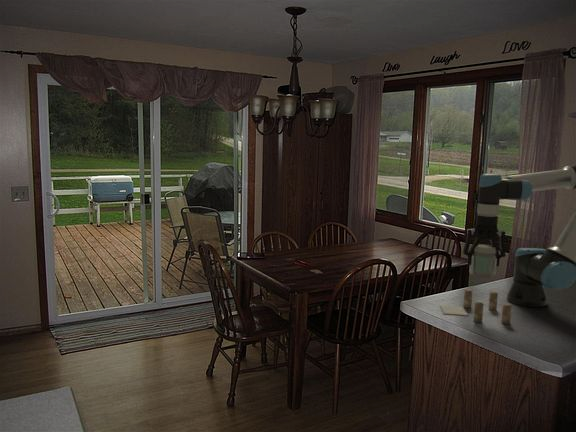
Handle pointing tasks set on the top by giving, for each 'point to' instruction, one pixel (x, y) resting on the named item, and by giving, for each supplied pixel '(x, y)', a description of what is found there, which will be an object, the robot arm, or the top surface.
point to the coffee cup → (483, 260)
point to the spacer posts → (492, 306)
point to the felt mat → (453, 310)
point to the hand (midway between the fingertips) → (482, 273)
